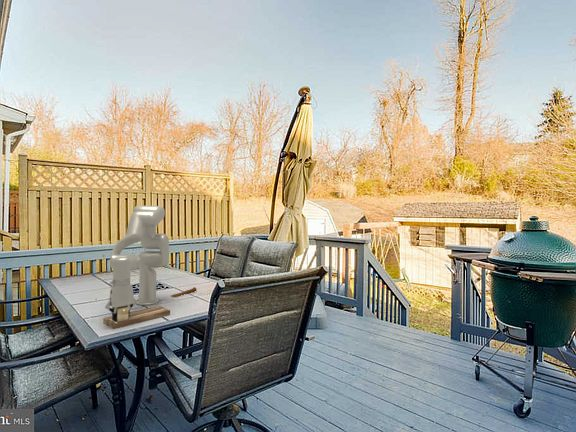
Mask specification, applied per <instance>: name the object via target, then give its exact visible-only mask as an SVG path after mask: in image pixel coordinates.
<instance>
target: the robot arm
mask: <svg viewBox="0 0 576 432" xmlns="http://www.w3.org/2000/svg"><path fill="white" fill-rule="evenodd" d="M165 214H166V211H165V208H164V207H162V206H161V205H136V206H135V207H133V212H132V213H131V214H130V216H129V217H130V218H129V220H128V221H129V222H128V224H127V229H126V233H125V236H123V237H122V238H121V239H119V240H118V242H116V244H114V247H113V248H112V251H111V253H110V254H111V255H110V257H109V266H110V268H111V269H112V270H113V271H112V280H111V281H110V282H109V285H111V288H110V292H109V297H108V299H109V300H108V302H107V303H106V305H105V306H104V309H106V310H108V311H109V312H111V316H112V319H113V320H114V321H115V322H116V321H117V313H116V311H117V308H118V307H122V306H127V307H129V314H128V318H129V316H130V312H131V309H132V308H133V307H134V305H135V304H136V305H138V306H150V305H156V304H158V303H159V299H158V298H157V271H156V269H155V268H157V267H161V268H162V267H164V268H165V267H167V266H168V265H169V262H170V239H169V236H168V235H167V234H166V233H157V226H158V225H159V224H160V223H161V222H162V221H163V220H164V218H165V216H166V215H165ZM137 243H140V245H141V248H143V249H144V251H141V252H139V254H138V255H136V254H121V253H122V251H123V250H124V249H126V248H127V247H130V246H132V245H134V244H137ZM145 249H146V250H145ZM154 267H155V268H154ZM138 268H139V276H138V277H139V278H138V280H139V282H138V284H139V287H138V288H139V289H138V300H136V299H135V298H134V296H135V295H134V288H133V284H132V283H131V271H134V270H137V269H138Z"/></svg>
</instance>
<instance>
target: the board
mask: <svg viewBox="0 0 576 432" xmlns="http://www.w3.org/2000/svg"><path fill="white" fill-rule="evenodd" d="M167 316H171V310H170V309H168V308H165V307H163V306H161V305H157V306H151V307H148V308H142V309H138V310H135V311H130V316H129V318H128V319H127V320H123V321H119V322H117V321H116V322H115V321H114V320H113V319H112V315H111V316H107V317H103V319H102V320H103V321H102V322H103V324H104V325H105V324H106V326H107V327H109V328H111V329H112V330H116V328H117V329H120V327H121V328H125V327H128V326H131V325H132V326H133V325H135V324H139V323H143V322H147V321H151V320H155V319H159V318H163V317H167Z"/></svg>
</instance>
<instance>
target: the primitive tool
mask: <svg viewBox="0 0 576 432" xmlns="http://www.w3.org/2000/svg"><path fill="white" fill-rule="evenodd" d="M197 290H198V289H197V288H196V287H192V288H191V289H187V290H184V291H182V292H181V291H180V292H179V293H175V294H174V293H173V294H171V295H170V297H171V298H179V297H182V296H185V295H189V294H191V292H192V293H195V292H194V291H196V292H197ZM184 294H185V295H184ZM181 295H182V296H181Z"/></svg>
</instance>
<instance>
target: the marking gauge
mask: <svg viewBox="0 0 576 432" xmlns="http://www.w3.org/2000/svg"><path fill="white" fill-rule="evenodd" d="M116 313H117V322H119V321H123V320H127V319H128V314H129V307H127V306H122V307H118V308H117V311H116Z"/></svg>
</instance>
